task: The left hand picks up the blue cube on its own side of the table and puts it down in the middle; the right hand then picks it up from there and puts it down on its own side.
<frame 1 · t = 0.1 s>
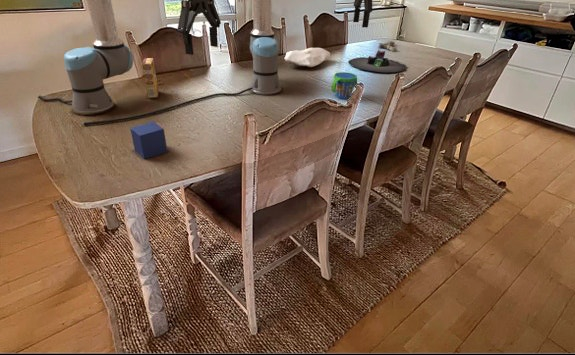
left hand: (202, 50, 128), 28 cm above the table, tool pointing down, fingers open, 13 cm apart
right hand: (360, 24, 182), 28 cm above the table, tool pointing down, fingers open, 13 cm apart
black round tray: (376, 65, 223), on the table
candy box: (153, 94, 167), on the table
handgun: (390, 48, 264), on the table
blue cube: (151, 151, 123), on the table
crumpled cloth: (304, 64, 219), on the table
snack cup: (343, 96, 174), on the table
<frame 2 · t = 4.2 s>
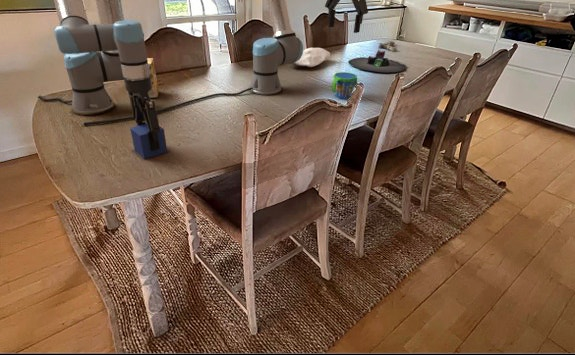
left hand: (150, 144, 121), 2 cm above the table, tool pointing down, fingers closed on blue cube, 7 cm apart
right hand: (343, 29, 149), 32 cm above the table, tool pointing down, fingers open, 13 cm apart
blue cube: (151, 151, 123), on the table, touching left hand
everything else where it was.
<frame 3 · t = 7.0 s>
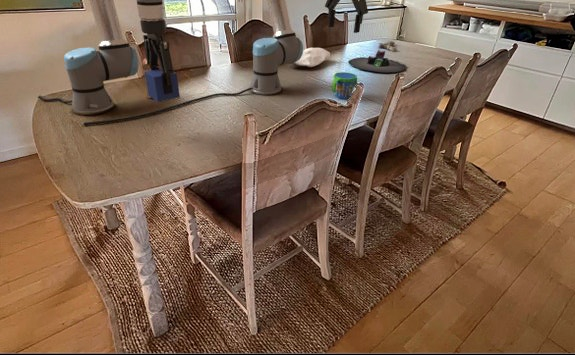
left hand: (163, 89, 126), 16 cm above the table, tool pointing down, fingers closed on blue cube, 7 cm apart
right hand: (343, 29, 149), 32 cm above the table, tool pointing down, fingers open, 13 cm apart
blue cube: (164, 96, 127), point 14 cm above the table, touching left hand
everything else where it was.
when the left hand's fingers open (3 cm above the table, at t = 10.1 s): blue cube stays where it is, on the table.
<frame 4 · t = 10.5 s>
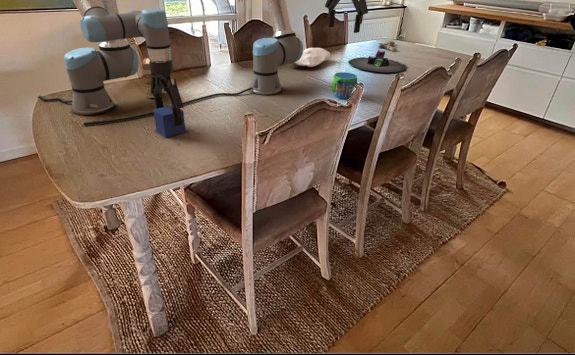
left hand: (169, 119, 133), 5 cm above the table, tool pointing down, fingers open, 13 cm apart
right hand: (343, 29, 149), 32 cm above the table, tool pointing down, fingers open, 13 cm apart
blue cube: (171, 131, 136), on the table
everything else where it was.
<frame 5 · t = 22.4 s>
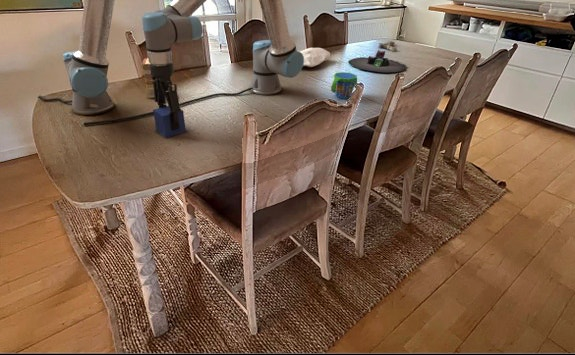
right hand: (170, 125, 134), 2 cm above the table, tool pointing down, fingers closed on blue cube, 7 cm apart
blue cube: (171, 131, 136), on the table, touching right hand
everything else where it was.
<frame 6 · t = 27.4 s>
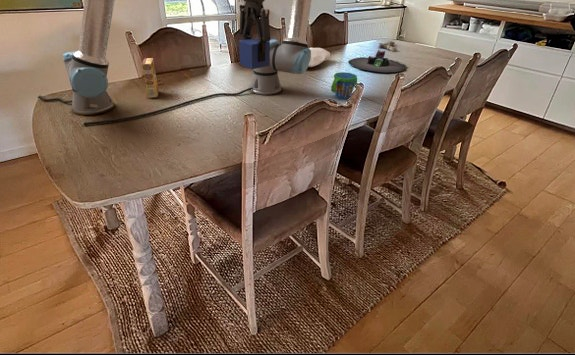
right hand: (254, 58, 132), 25 cm above the table, tool pointing down, fingers closed on blue cube, 7 cm apart
blue cube: (254, 65, 133), point 23 cm above the table, touching right hand
everything else where it was.
when the right hand's fingers open (3 cm above the table, at t = 32.9 s): blue cube stays where it is, on the table.
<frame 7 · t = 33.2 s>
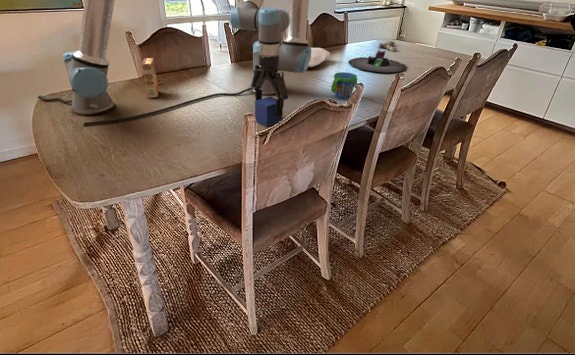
right hand: (268, 110, 144), 5 cm above the table, tool pointing down, fingers open, 12 cm apart
blue cube: (268, 121, 147), on the table
everything else where it was.
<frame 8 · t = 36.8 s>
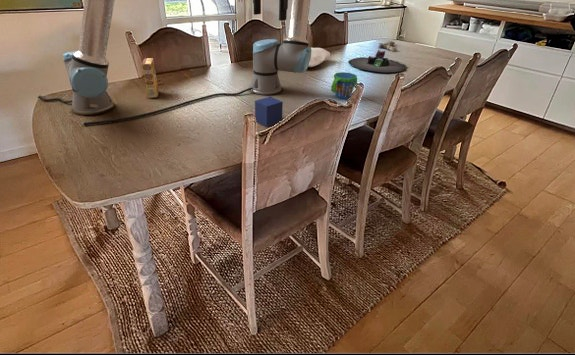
right hand: (269, 17, 126), 39 cm above the table, tool pointing down, fingers open, 13 cm apart
nothing on the table moved.
at the end: blue cube inside the target area (0.0 cm from its centre), on the table; blue cube tilted 0°; the two hands never held the blue cube at the same time; the left hand is holding nothing; the right hand is holding nothing; blue cube at rest at the end (0.0 cm/s) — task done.
